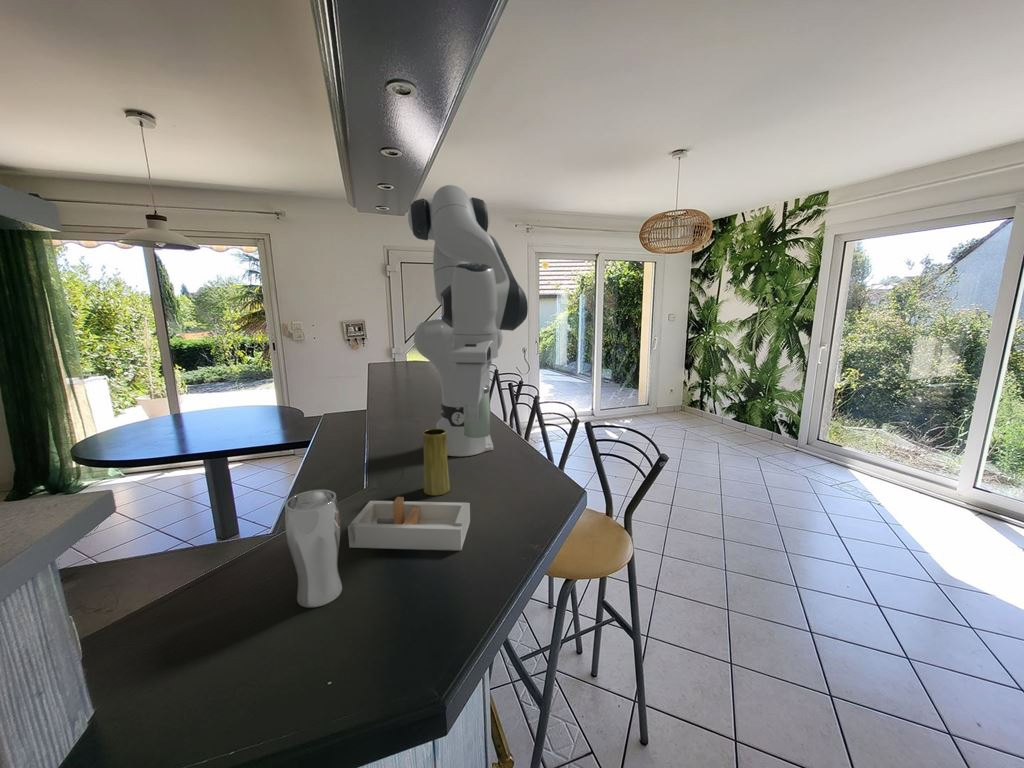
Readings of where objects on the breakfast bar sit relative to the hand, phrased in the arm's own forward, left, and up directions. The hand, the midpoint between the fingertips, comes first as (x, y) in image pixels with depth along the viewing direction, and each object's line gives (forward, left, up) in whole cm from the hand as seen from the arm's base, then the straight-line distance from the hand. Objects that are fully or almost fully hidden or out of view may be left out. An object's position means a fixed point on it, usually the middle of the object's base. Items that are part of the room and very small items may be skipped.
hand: (476, 416), depth 83 cm
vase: (-9, -11, -20) cm, 25 cm away
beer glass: (+27, -20, -20) cm, 39 cm away
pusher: (+10, -14, -19) cm, 26 cm away
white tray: (+10, -11, -20) cm, 25 cm away
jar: (0, 0, -4) cm, 4 cm away
